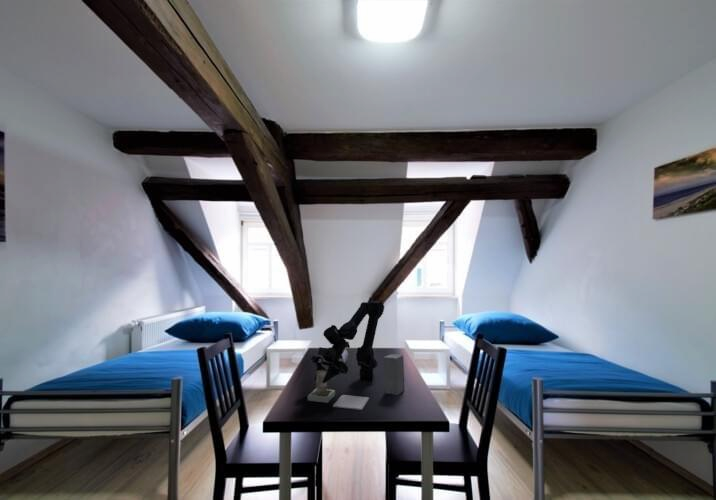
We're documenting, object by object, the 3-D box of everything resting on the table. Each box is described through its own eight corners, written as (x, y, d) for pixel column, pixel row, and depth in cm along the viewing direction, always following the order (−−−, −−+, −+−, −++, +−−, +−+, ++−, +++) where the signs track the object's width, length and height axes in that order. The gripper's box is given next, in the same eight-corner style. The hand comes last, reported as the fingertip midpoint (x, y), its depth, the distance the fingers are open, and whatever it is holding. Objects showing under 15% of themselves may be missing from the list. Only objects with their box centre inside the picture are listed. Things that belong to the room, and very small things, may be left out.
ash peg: (328, 396, 146) (328, 370, 146) (324, 400, 141) (324, 373, 142) (318, 395, 147) (318, 369, 147) (314, 399, 142) (314, 372, 143)
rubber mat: (369, 398, 142) (369, 397, 142) (361, 410, 131) (361, 408, 131) (342, 395, 146) (342, 394, 146) (332, 406, 134) (332, 405, 134)
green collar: (335, 394, 147) (335, 390, 147) (327, 402, 138) (327, 397, 139) (316, 392, 150) (316, 388, 150) (307, 400, 141) (307, 395, 141)
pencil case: (333, 361, 201) (333, 345, 202) (348, 361, 201) (348, 345, 201) (328, 372, 180) (328, 354, 181) (344, 372, 180) (344, 354, 180)
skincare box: (397, 396, 145) (397, 358, 146) (382, 393, 149) (382, 356, 150) (405, 390, 152) (405, 354, 153) (391, 387, 156) (391, 352, 157)
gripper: (313, 337, 154) (294, 367, 145) (343, 342, 142) (325, 375, 133) (325, 351, 160) (308, 380, 151) (355, 357, 148) (338, 390, 139)
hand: (319, 381), depth 143 cm, fingers closed on ash peg, 4 cm apart
